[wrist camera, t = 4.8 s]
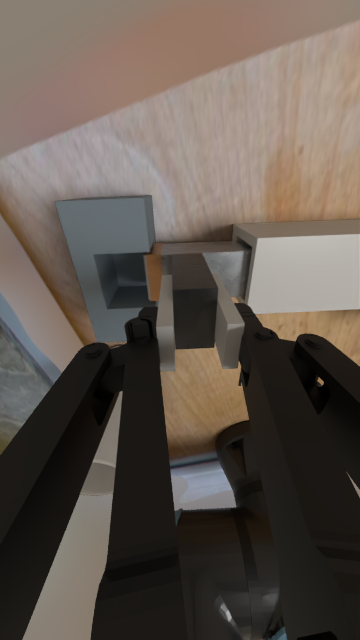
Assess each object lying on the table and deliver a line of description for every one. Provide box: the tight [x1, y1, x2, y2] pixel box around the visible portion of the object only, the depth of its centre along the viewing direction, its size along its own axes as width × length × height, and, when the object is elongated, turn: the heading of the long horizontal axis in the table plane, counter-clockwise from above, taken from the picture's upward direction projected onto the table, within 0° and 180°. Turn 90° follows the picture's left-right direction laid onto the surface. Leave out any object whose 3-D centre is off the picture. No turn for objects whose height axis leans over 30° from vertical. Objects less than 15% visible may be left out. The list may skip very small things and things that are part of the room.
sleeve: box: [232, 219, 360, 314], centre depth 20 cm, size 6×14×7 cm, turn 92°
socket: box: [55, 195, 159, 342], centre depth 20 cm, size 12×6×7 cm, turn 2°
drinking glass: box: [80, 346, 123, 496], centre depth 24 cm, size 7×7×15 cm
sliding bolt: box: [143, 240, 253, 349], centre depth 17 cm, size 4×18×11 cm, turn 92°
